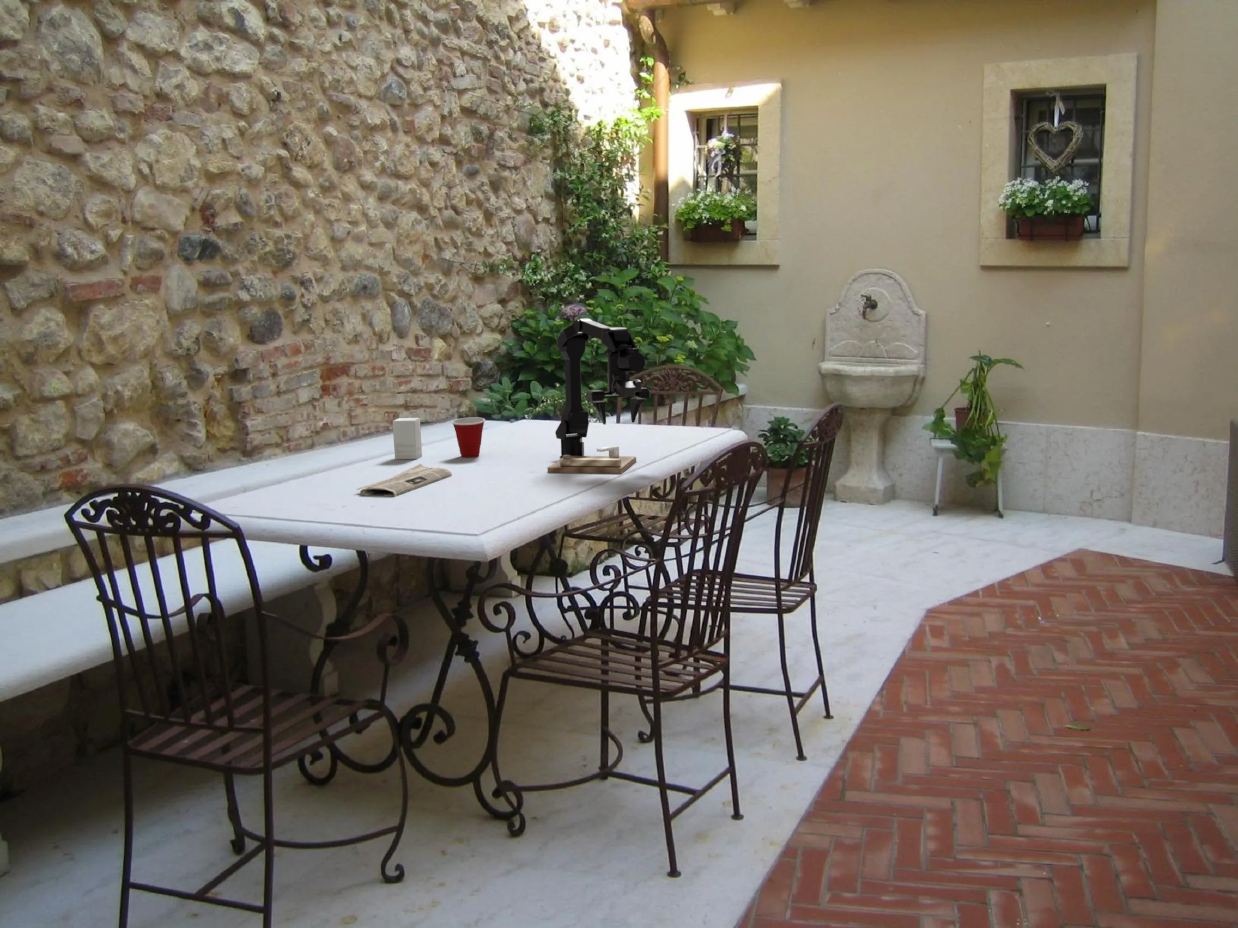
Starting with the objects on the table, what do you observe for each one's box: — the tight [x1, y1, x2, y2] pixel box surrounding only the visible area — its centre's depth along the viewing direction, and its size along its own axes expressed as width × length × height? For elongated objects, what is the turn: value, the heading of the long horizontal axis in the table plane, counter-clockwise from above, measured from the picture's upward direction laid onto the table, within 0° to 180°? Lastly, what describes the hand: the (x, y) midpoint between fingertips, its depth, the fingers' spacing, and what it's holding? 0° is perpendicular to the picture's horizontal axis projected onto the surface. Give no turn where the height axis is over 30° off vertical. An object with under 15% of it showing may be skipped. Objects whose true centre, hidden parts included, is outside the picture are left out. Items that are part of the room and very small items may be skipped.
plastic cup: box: [451, 416, 486, 458], centre depth 379 cm, size 11×11×12 cm
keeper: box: [596, 445, 620, 458], centre depth 359 cm, size 8×2×3 cm, turn 136°
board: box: [547, 455, 637, 474], centre depth 354 cm, size 22×23×2 cm
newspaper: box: [356, 463, 453, 497], centre depth 329 cm, size 35×12×4 cm, turn 162°
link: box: [559, 455, 621, 466], centre depth 345 cm, size 18×4×3 cm, turn 78°
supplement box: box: [392, 417, 423, 460], centre depth 378 cm, size 7×7×13 cm
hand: (618, 423), depth 349 cm, fingers open, 9 cm apart
